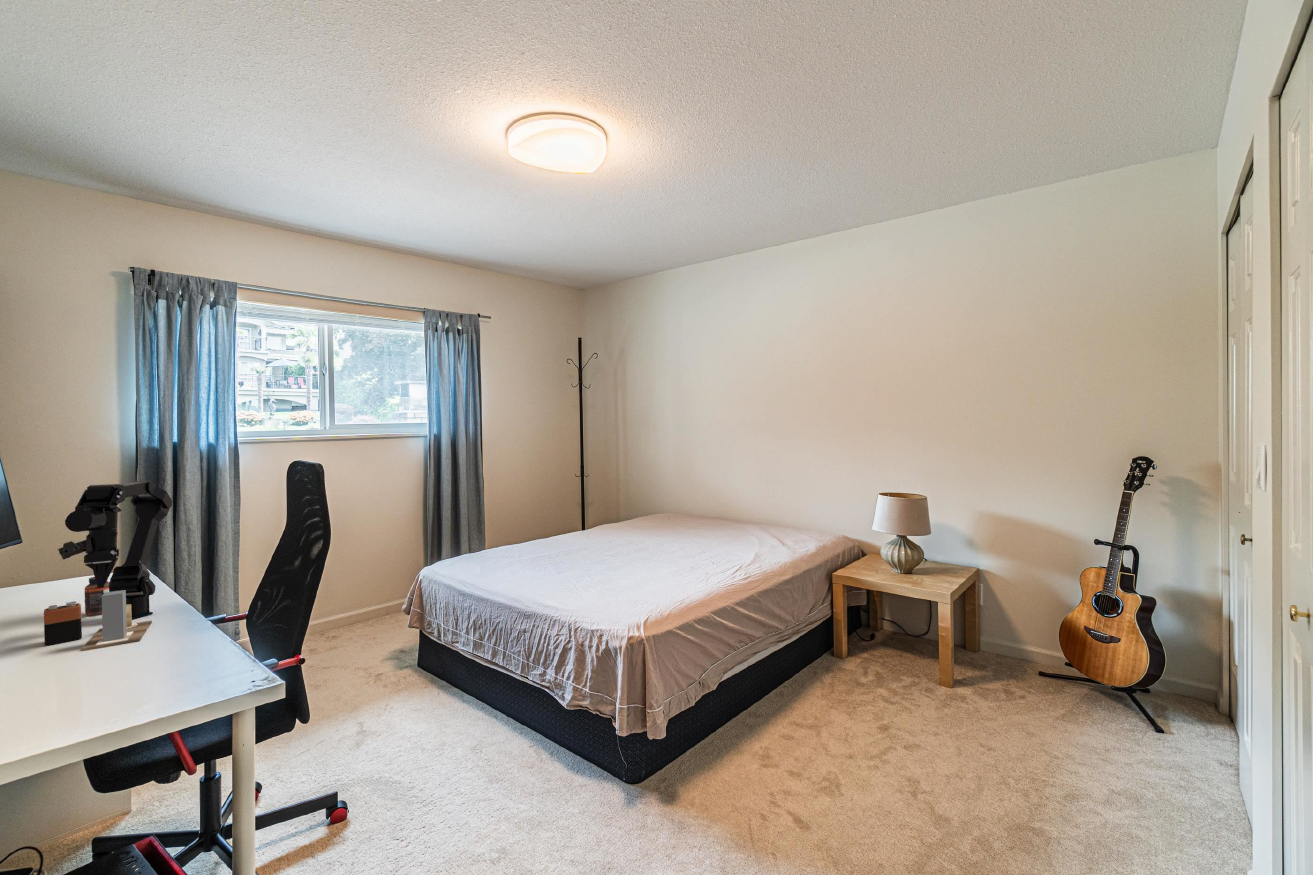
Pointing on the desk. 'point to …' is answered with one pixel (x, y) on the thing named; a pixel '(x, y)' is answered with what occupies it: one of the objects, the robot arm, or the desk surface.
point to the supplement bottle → (94, 597)
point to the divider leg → (114, 615)
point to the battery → (62, 623)
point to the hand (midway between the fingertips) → (101, 585)
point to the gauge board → (133, 635)
